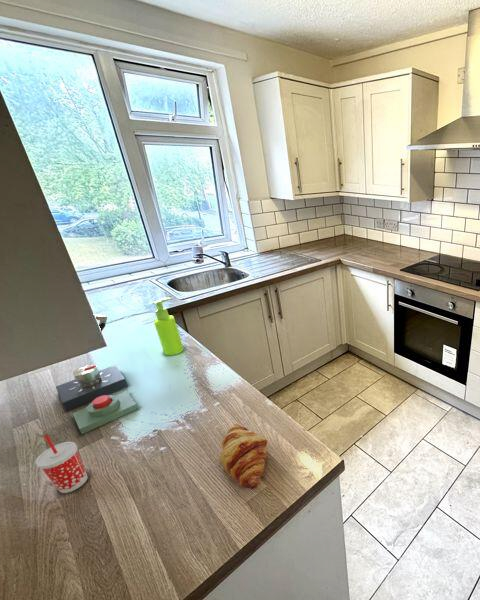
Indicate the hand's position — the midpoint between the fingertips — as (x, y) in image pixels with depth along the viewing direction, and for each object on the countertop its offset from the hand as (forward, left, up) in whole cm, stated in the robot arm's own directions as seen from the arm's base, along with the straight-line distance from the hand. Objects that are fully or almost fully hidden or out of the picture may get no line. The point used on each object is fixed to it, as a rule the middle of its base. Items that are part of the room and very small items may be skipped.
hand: (79, 352), depth 94 cm
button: (0, -15, -10) cm, 18 cm away
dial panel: (0, 0, -13) cm, 13 cm away
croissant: (+17, -59, -14) cm, 63 cm away
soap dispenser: (+24, +6, -14) cm, 28 cm away
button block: (0, -15, -13) cm, 20 cm away
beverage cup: (-10, -36, -14) cm, 40 cm away
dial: (0, 0, -10) cm, 10 cm away
